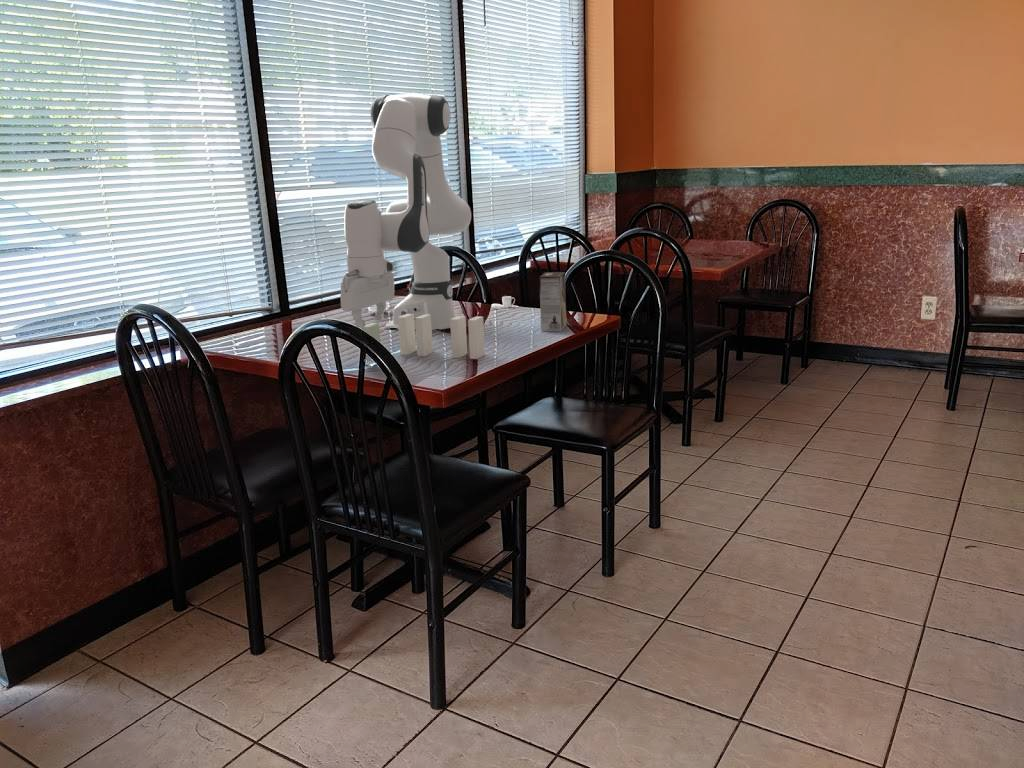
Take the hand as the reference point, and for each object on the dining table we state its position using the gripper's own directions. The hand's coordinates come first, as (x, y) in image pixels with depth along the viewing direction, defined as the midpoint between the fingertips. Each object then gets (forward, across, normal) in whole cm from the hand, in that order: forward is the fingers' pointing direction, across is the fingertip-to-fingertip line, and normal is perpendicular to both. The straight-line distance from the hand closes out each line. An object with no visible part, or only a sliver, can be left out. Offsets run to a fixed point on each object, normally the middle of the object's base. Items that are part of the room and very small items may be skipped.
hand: (370, 323), depth 206 cm
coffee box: (+10, +51, -31) cm, 61 cm away
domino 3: (+10, +13, -8) cm, 19 cm away
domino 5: (+10, +13, -23) cm, 28 cm away
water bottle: (+9, +69, +38) cm, 79 cm away
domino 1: (+10, 0, 0) cm, 10 cm away
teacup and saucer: (+10, +83, -2) cm, 83 cm away
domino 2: (+10, +13, -3) cm, 17 cm away
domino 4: (+10, +13, -18) cm, 25 cm away
